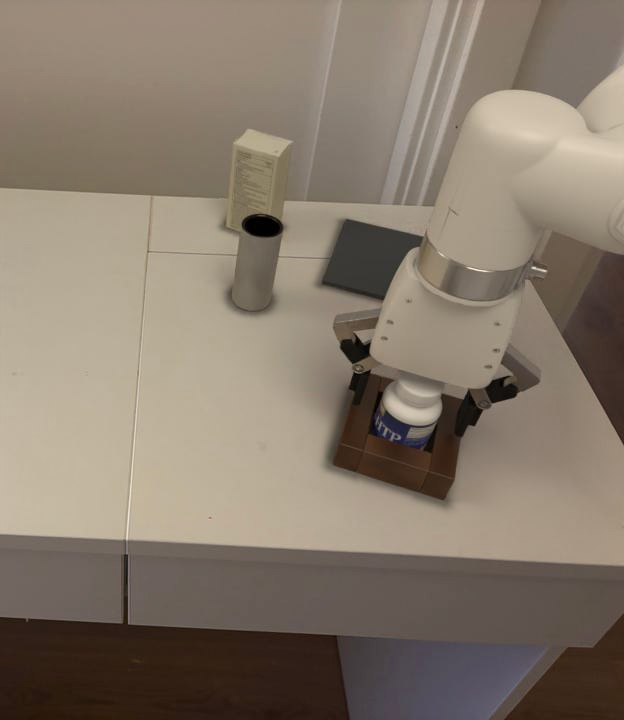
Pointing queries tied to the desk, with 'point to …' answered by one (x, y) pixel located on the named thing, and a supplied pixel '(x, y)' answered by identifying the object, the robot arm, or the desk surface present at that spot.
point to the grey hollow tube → (256, 261)
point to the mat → (368, 258)
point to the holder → (400, 446)
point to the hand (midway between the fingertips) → (407, 409)
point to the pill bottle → (408, 410)
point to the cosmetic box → (257, 176)
